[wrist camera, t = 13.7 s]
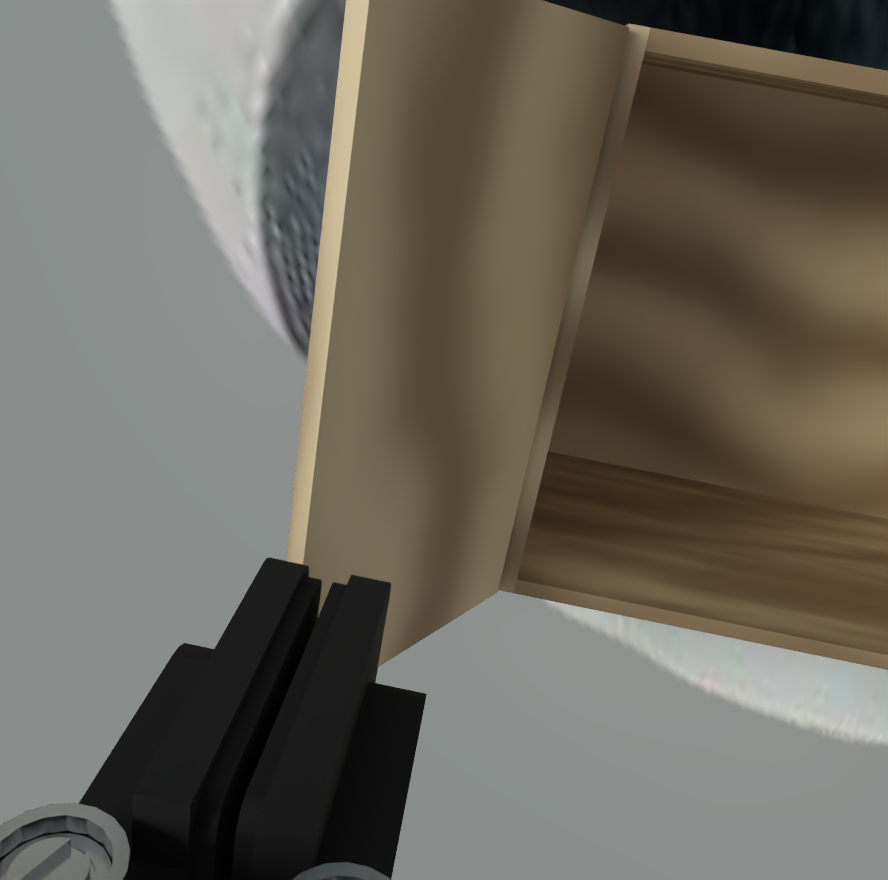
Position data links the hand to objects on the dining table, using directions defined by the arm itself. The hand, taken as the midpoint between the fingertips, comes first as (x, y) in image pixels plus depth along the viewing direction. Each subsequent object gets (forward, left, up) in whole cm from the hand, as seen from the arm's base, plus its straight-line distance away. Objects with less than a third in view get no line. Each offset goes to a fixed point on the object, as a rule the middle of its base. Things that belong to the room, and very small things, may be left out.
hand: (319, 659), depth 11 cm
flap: (0, +1, -13) cm, 13 cm away
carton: (0, +14, -30) cm, 33 cm away
